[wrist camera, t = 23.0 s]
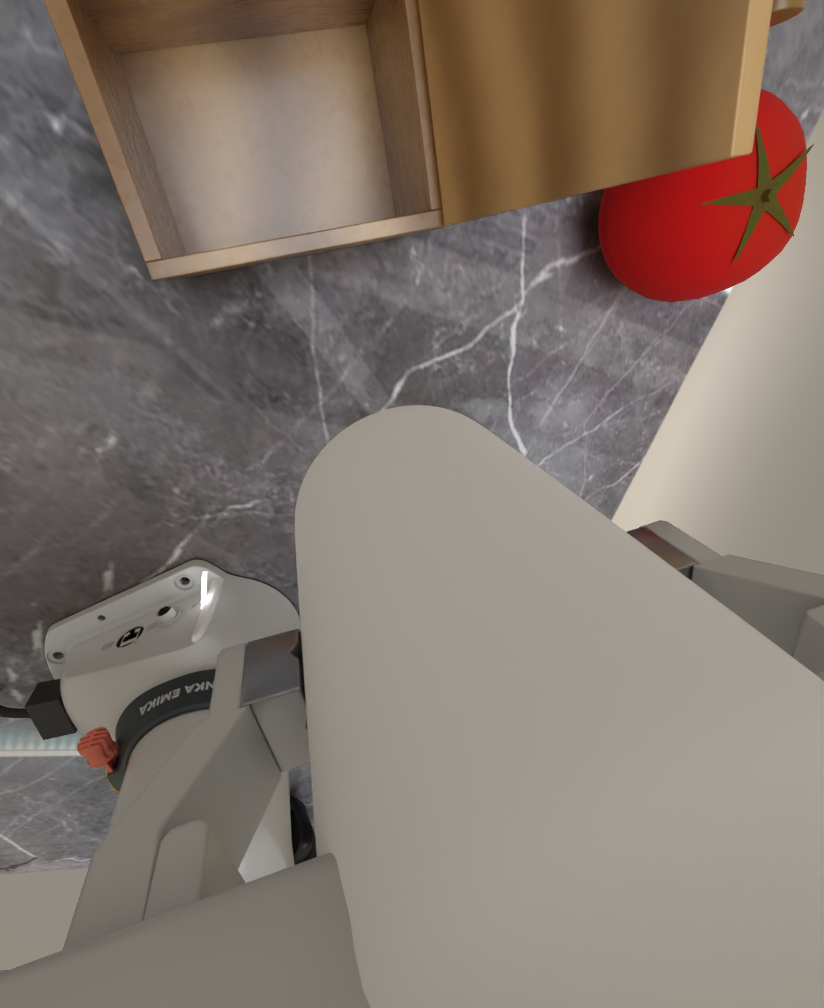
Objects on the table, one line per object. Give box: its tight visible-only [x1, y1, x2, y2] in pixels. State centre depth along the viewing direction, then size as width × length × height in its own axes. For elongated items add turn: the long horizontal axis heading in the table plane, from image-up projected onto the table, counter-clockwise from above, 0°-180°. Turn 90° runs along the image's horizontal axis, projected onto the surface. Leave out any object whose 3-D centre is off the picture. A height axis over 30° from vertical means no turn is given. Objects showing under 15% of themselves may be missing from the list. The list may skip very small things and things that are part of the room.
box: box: [44, 0, 445, 281], centre depth 28 cm, size 17×13×10 cm
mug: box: [290, 797, 317, 865], centre depth 57 cm, size 8×12×10 cm
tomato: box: [598, 89, 813, 302], centre depth 35 cm, size 13×14×12 cm
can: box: [295, 405, 824, 1008], centre depth 9 cm, size 6×6×12 cm
